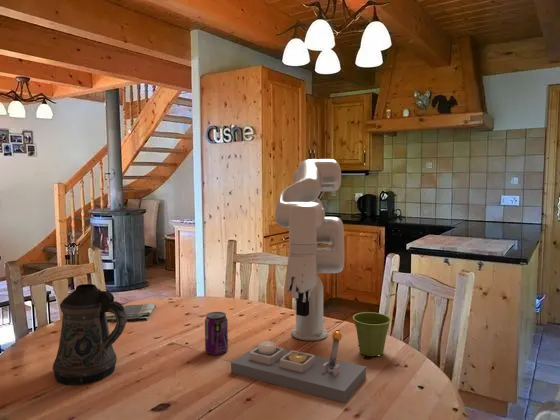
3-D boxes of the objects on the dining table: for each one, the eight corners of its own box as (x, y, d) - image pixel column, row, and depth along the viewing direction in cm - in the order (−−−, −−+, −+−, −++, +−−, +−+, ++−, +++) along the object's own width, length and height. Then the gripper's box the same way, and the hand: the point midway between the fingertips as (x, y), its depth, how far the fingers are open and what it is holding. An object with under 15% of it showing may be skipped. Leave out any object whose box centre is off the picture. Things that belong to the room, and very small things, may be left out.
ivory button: (264, 346, 130) (264, 340, 130) (278, 349, 127) (278, 343, 127) (255, 352, 126) (255, 345, 125) (269, 355, 123) (269, 349, 123)
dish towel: (113, 309, 185) (113, 302, 185) (157, 308, 187) (156, 301, 187) (100, 324, 166) (100, 316, 166) (148, 322, 168) (148, 314, 168)
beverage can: (223, 357, 134) (223, 318, 133) (201, 355, 136) (201, 317, 135) (230, 348, 141) (230, 311, 140) (210, 346, 143) (209, 310, 142)
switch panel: (261, 353, 137) (261, 337, 137) (365, 377, 120) (366, 359, 120) (231, 372, 123) (230, 355, 123) (344, 403, 106) (344, 383, 106)
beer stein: (57, 365, 129) (53, 281, 127) (126, 355, 136) (124, 276, 134) (49, 390, 113) (45, 295, 111) (128, 378, 120) (125, 288, 118)
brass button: (293, 357, 125) (294, 351, 125) (309, 361, 123) (309, 354, 122) (285, 364, 121) (285, 357, 121) (301, 368, 118) (301, 361, 118)
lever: (328, 368, 119) (334, 331, 122) (337, 370, 117) (343, 332, 120) (325, 368, 116) (331, 329, 120) (334, 370, 115) (340, 331, 118)
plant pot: (344, 353, 137) (345, 318, 136) (365, 343, 145) (365, 309, 145) (378, 364, 129) (378, 327, 128) (397, 352, 137) (398, 317, 137)
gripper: (303, 244, 128) (303, 306, 129) (276, 252, 115) (277, 320, 117) (326, 246, 124) (326, 310, 126) (301, 254, 111) (301, 325, 113)
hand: (302, 314), depth 121 cm, fingers closed
